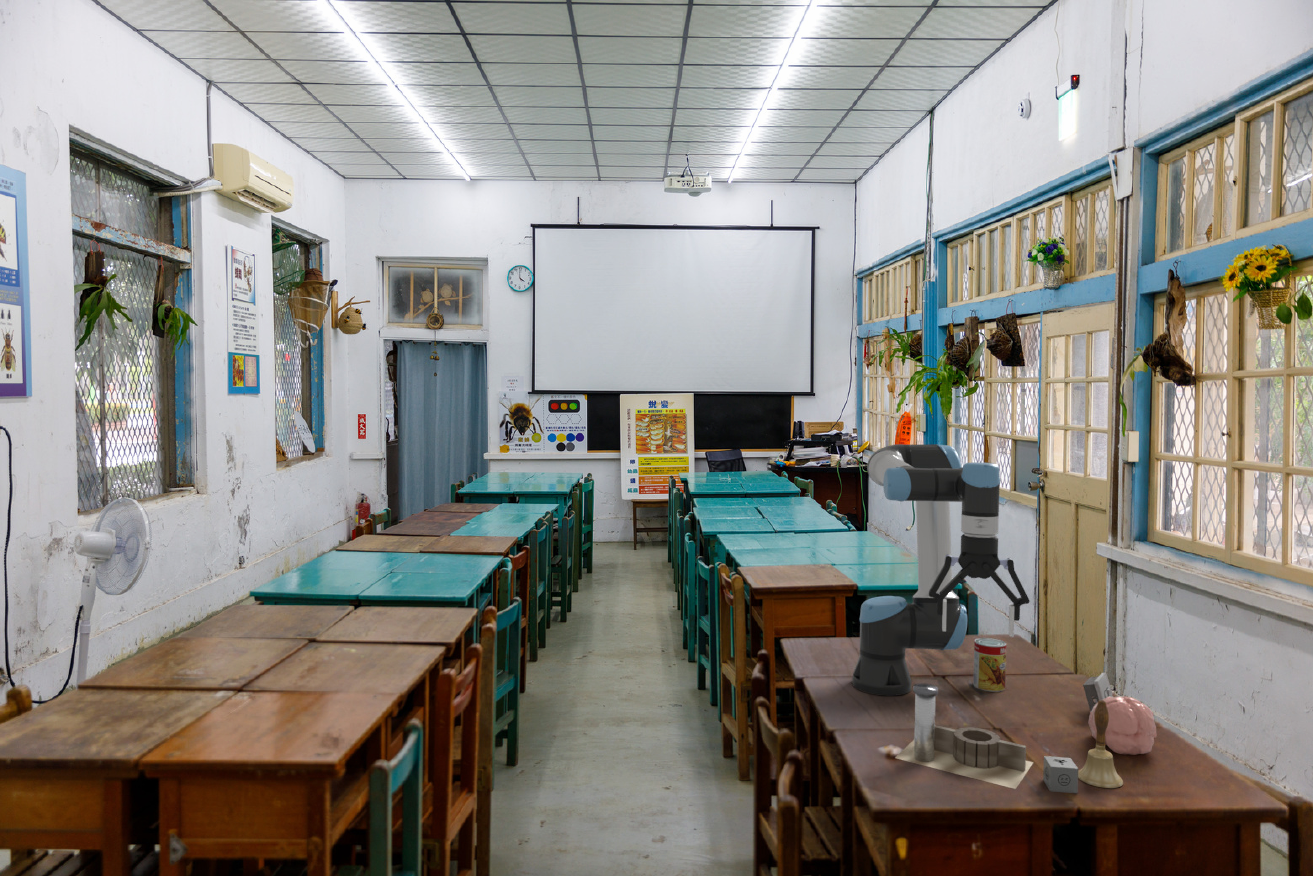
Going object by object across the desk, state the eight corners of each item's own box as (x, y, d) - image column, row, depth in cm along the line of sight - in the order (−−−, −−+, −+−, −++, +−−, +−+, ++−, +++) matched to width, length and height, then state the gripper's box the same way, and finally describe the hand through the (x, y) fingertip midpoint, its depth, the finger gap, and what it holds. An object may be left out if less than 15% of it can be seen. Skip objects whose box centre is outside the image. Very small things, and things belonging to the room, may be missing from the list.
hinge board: (894, 763, 181) (895, 734, 180) (918, 740, 193) (919, 713, 193) (1015, 795, 167) (1016, 763, 166) (1033, 768, 179) (1034, 738, 179)
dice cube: (1069, 782, 173) (1070, 758, 172) (1077, 794, 168) (1078, 768, 168) (1043, 780, 174) (1043, 756, 173) (1050, 791, 169) (1050, 766, 168)
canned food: (1009, 692, 225) (1011, 646, 224) (979, 691, 225) (980, 646, 225) (998, 682, 233) (1000, 638, 232) (969, 681, 233) (970, 637, 232)
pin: (908, 759, 180) (909, 688, 179) (916, 751, 184) (917, 681, 183) (931, 765, 177) (933, 693, 176) (939, 757, 181) (941, 686, 180)
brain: (1082, 754, 196) (1075, 698, 201) (1142, 756, 195) (1134, 700, 199) (1107, 753, 182) (1099, 692, 186) (1172, 755, 180) (1163, 694, 184)
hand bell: (1068, 771, 178) (1070, 694, 177) (1107, 769, 178) (1109, 693, 178) (1092, 789, 170) (1094, 709, 169) (1132, 788, 170) (1135, 708, 169)
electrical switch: (1108, 722, 205) (1105, 682, 205) (1084, 718, 208) (1081, 680, 208) (1116, 711, 212) (1114, 673, 212) (1093, 708, 215) (1090, 670, 215)
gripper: (918, 534, 186) (916, 632, 187) (1045, 540, 179) (1042, 642, 179) (918, 529, 193) (917, 623, 194) (1040, 535, 186) (1037, 633, 187)
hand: (977, 632), depth 187 cm, fingers open, 13 cm apart
